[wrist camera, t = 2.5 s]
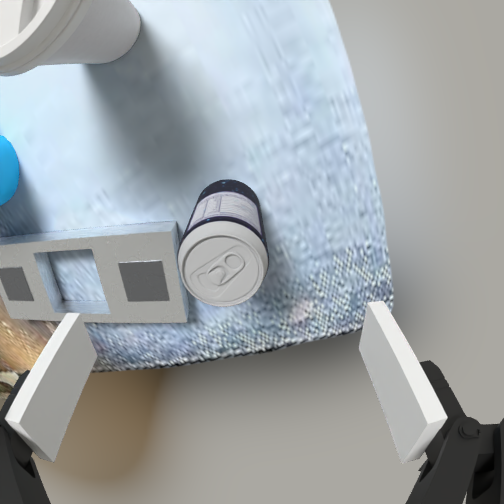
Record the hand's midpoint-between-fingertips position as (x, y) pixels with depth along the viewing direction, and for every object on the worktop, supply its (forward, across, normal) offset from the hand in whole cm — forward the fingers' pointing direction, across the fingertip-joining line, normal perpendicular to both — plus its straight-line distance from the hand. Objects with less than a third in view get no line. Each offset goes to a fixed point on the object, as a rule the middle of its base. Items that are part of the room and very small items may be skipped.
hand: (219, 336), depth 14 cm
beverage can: (+18, 0, 0) cm, 18 cm away
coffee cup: (+18, -10, +18) cm, 27 cm away
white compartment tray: (+17, -17, -6) cm, 25 cm away
